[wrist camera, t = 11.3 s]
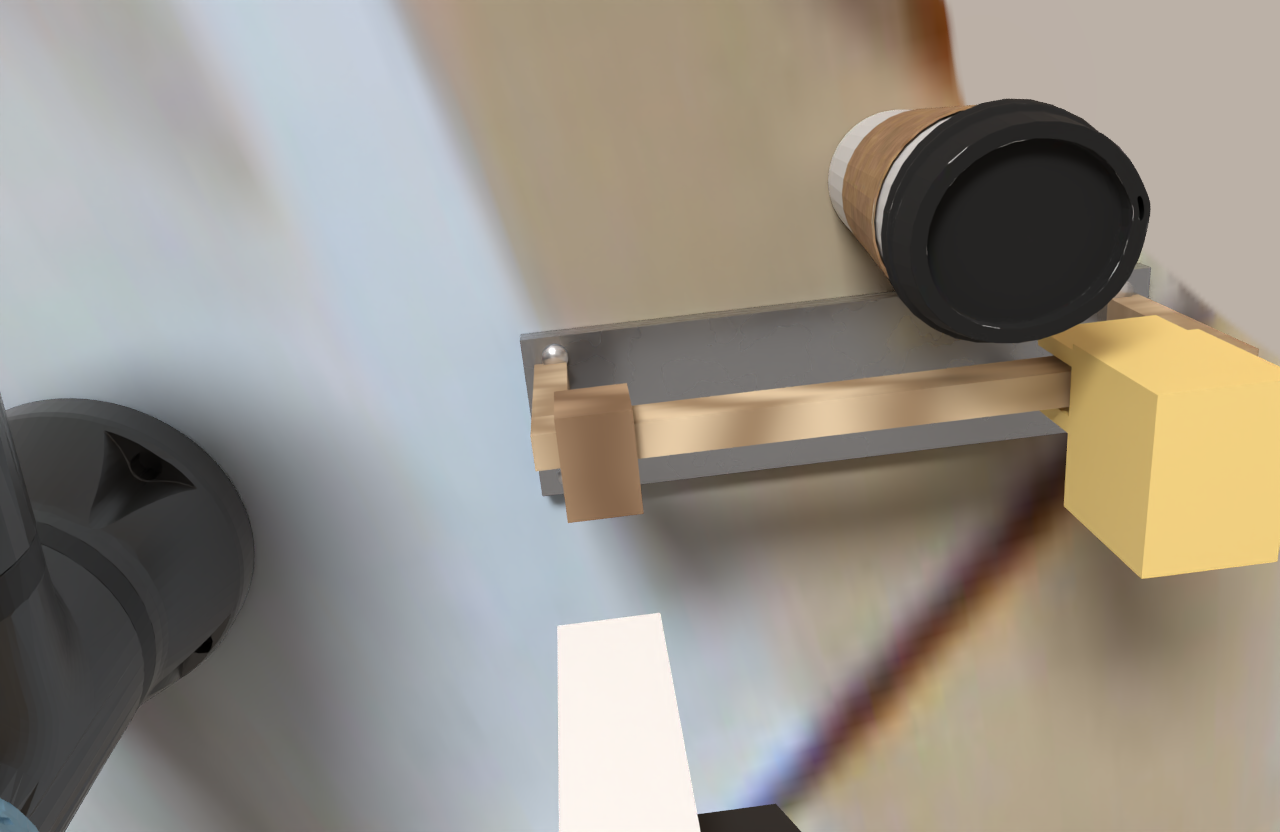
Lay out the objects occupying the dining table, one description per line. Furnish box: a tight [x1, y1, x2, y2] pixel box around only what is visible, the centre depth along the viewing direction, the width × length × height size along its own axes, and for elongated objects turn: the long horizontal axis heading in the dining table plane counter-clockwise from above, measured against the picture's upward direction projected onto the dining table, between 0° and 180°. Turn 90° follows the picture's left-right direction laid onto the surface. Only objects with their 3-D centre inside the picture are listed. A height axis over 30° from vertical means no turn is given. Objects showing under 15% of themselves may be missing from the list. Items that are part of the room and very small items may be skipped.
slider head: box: [1038, 315, 1280, 579], centre depth 43 cm, size 5×7×15 cm
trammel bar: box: [531, 294, 1259, 523], centre depth 45 cm, size 29×5×10 cm, turn 96°
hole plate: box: [520, 263, 1151, 496], centre depth 50 cm, size 30×8×1 cm, turn 96°
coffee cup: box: [828, 99, 1150, 343], centre depth 40 cm, size 8×8×15 cm
